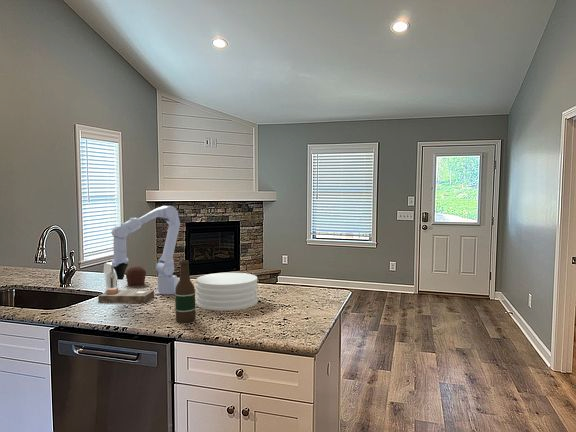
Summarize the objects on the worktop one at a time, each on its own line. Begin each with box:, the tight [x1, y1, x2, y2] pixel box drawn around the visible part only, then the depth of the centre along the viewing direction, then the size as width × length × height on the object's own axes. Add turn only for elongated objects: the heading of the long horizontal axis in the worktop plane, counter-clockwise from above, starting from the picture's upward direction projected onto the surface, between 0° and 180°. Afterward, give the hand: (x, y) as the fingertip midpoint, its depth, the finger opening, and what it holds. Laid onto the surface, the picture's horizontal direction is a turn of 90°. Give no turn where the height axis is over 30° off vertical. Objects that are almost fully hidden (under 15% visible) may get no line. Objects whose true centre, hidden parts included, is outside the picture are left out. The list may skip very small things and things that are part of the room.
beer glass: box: [103, 261, 118, 293], centre depth 223 cm, size 7×7×15 cm
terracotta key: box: [105, 287, 119, 294], centre depth 209 cm, size 4×4×3 cm
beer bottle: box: [174, 259, 196, 324], centre depth 173 cm, size 8×8×24 cm
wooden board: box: [97, 289, 155, 304], centre depth 209 cm, size 22×12×3 cm, turn 87°
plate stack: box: [195, 272, 259, 312], centre depth 202 cm, size 28×28×12 cm
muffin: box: [124, 265, 147, 287], centre depth 242 cm, size 12×11×10 cm
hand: (120, 279), depth 209 cm, fingers closed
